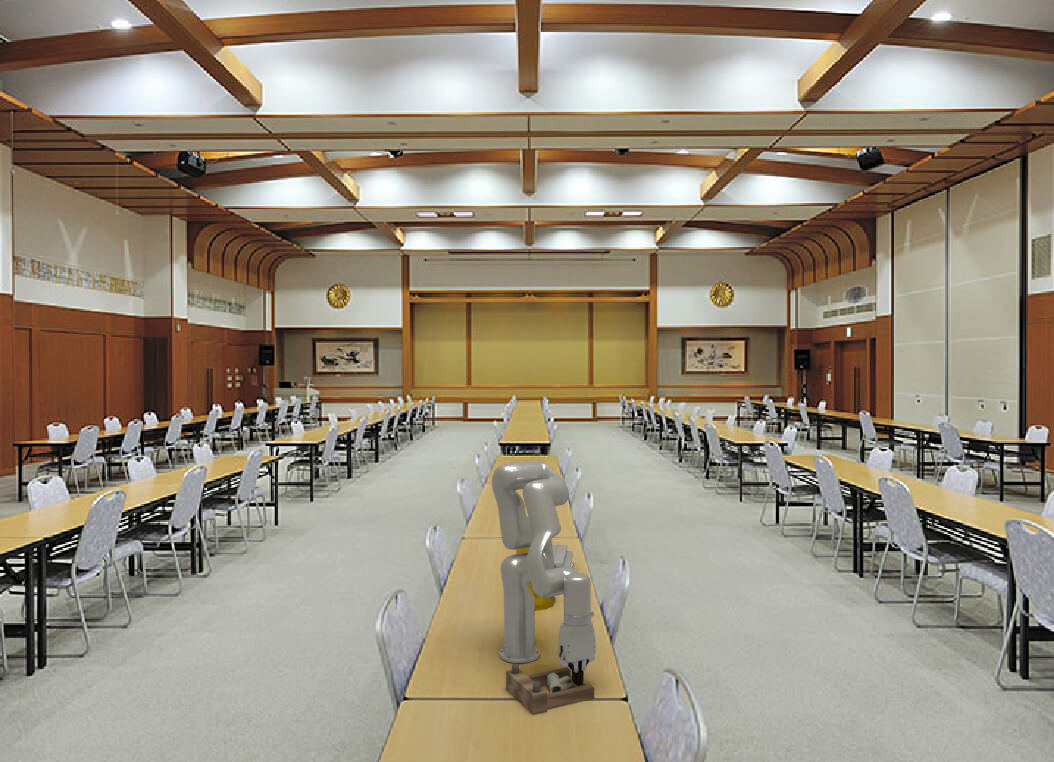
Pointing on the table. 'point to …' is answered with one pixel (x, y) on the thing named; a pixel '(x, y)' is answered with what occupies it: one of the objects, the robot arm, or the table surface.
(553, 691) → the pipe fitting
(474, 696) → the table surface
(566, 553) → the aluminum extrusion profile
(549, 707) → the bench jig
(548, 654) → the table surface
